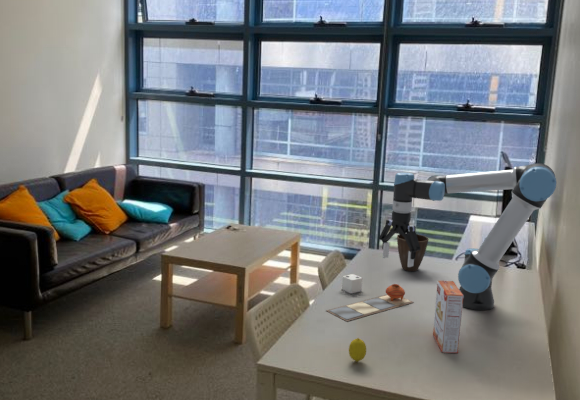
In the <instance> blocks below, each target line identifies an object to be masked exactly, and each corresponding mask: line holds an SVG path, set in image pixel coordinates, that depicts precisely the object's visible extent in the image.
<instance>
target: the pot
mask: <svg viewBox="0 0 580 400" xmlns="http://www.w3.org/2000/svg"><path fill="white" fill-rule="evenodd" d="M385 293H386V295H388V296H389V297H391V301H393V299H398V298H401V300H402V299H403V298H405V297H404V296H405V295H406V291H405V289H404V288H403V287H402V286H401V285H400V284H396V283H393V284H391V285H389V286H387V287H386V289H385Z"/></svg>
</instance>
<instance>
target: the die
mask: <svg viewBox="0 0 580 400" xmlns="http://www.w3.org/2000/svg"><path fill="white" fill-rule="evenodd" d="M341 280H342V282H341V290H343V291H344V292H347V293H349V294H355V293H359V292H362V291H363V289H362V288H363V277H361V276H359V275H356V274H354V273H351V274H347V275H343V276H342V279H341Z"/></svg>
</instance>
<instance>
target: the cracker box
mask: <svg viewBox="0 0 580 400" xmlns="http://www.w3.org/2000/svg"><path fill="white" fill-rule="evenodd" d="M436 285H437V286H436V297H435V306H434V317H433V318H434V320H433V330H432V336H433V337H434V340H435V342H436V343H437V346H438V347H439V350H440V352H441V353H449V354H458V353H459V345H460V335H461V327H462V318H463V317H462V316H463V308H464V307H463V299H464V296H463V294H462V293H461V291H460V290H459V289H460V288H459V287H458V286H457V284H456V283H455V281H453V280H437V284H436Z"/></svg>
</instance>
